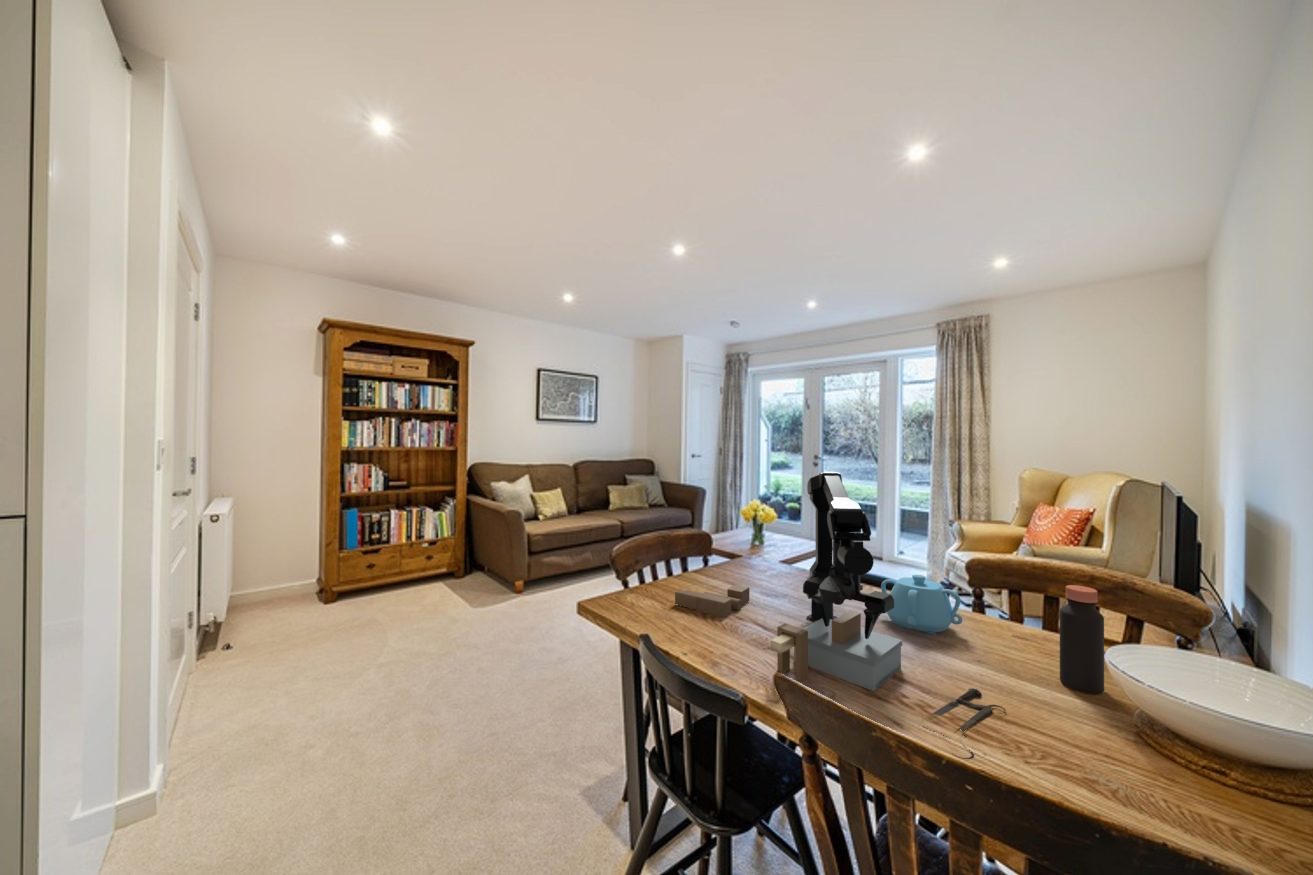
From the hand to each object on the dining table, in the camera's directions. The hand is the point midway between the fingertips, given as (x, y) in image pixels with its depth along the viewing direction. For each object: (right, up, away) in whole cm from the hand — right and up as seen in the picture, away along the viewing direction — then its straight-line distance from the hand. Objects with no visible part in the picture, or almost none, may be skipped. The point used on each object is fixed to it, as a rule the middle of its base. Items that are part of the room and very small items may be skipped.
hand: (846, 632), depth 107 cm
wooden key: (-14, -1, -5) cm, 15 cm away
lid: (0, -2, 0) cm, 2 cm away
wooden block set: (-25, -8, +39) cm, 47 cm away
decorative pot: (+28, -8, +22) cm, 37 cm away
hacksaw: (+13, -8, -22) cm, 27 cm away
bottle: (+44, -7, -10) cm, 46 cm away
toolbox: (-3, -7, -2) cm, 8 cm away
